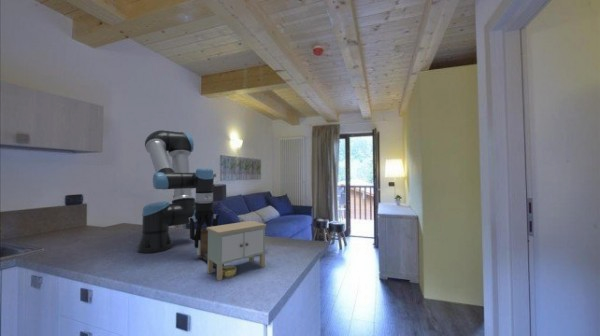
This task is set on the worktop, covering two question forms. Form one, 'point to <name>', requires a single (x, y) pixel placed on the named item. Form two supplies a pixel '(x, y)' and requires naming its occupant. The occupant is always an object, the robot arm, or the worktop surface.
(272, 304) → the worktop surface
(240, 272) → the worktop surface
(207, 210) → the robot arm
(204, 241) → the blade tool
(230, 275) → the token
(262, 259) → the cabinet
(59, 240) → the worktop surface
